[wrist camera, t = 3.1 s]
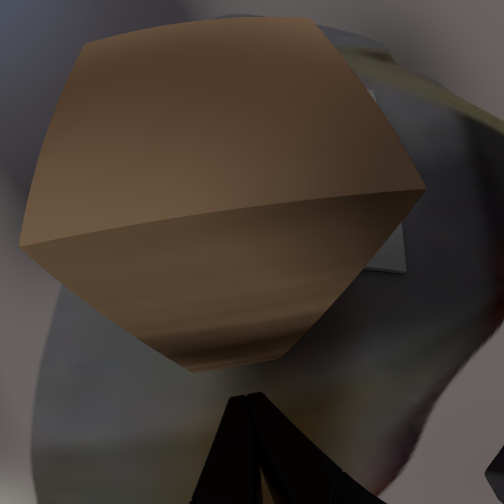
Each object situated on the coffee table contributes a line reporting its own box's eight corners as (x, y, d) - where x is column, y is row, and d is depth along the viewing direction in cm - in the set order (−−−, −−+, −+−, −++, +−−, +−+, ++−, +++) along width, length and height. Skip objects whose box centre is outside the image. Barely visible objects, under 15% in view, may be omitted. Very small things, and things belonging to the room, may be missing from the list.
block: (280, 358, 16) (426, 188, 3) (192, 372, 15) (18, 247, 3) (263, 277, 18) (309, 17, 5) (181, 290, 17) (84, 44, 5)
